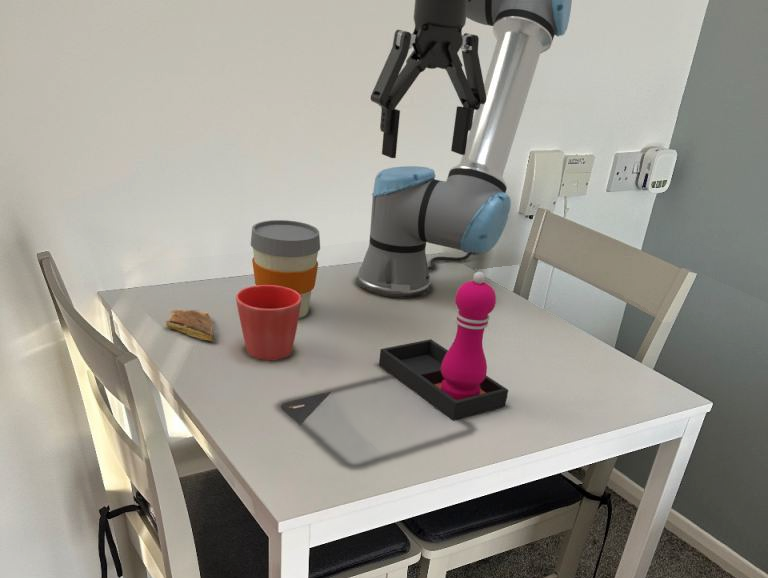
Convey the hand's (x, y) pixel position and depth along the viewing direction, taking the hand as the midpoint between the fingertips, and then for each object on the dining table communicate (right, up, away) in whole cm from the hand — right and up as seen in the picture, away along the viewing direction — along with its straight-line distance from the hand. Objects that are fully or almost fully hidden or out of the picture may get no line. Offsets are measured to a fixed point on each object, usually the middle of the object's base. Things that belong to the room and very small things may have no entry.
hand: (424, 154), depth 122 cm
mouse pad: (-8, -42, -4) cm, 43 cm away
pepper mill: (+6, -38, +2) cm, 38 cm away
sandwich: (-39, -24, +16) cm, 48 cm away
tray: (+3, -35, +6) cm, 36 cm away
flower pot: (-26, -29, +11) cm, 40 cm away
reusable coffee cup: (-25, -18, +26) cm, 40 cm away
